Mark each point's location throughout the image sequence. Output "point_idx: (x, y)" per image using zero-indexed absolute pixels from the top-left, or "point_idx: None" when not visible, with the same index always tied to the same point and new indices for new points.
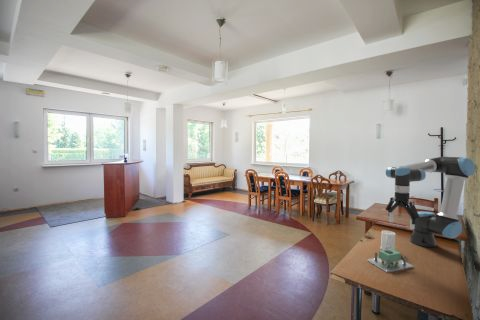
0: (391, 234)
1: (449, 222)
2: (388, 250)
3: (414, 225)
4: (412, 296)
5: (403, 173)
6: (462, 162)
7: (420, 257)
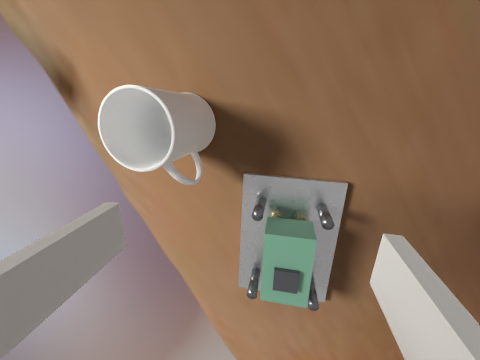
0: (138, 92)
1: None
2: (279, 276)
3: (433, 272)
4: None
5: None
6: None
7: (300, 41)
